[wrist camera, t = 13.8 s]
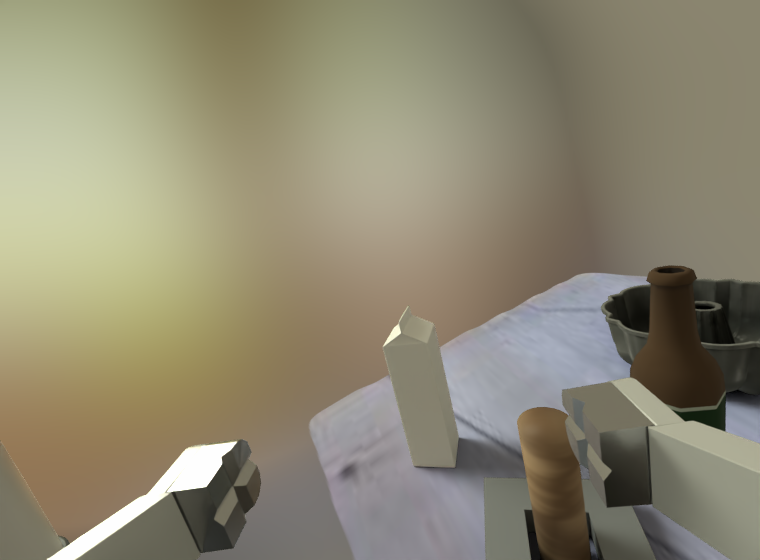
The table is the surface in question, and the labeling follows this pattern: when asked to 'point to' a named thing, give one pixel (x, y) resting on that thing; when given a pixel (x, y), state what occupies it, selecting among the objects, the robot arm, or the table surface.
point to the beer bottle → (679, 352)
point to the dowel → (554, 485)
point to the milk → (422, 392)
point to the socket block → (515, 519)
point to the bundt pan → (700, 326)
